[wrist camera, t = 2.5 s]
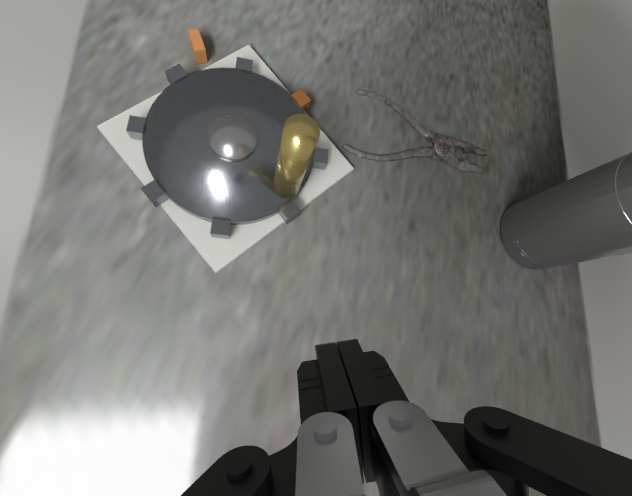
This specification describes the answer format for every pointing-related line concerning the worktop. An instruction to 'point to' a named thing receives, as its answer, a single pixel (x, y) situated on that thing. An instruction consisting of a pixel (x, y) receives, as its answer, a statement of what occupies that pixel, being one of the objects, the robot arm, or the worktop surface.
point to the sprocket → (228, 146)
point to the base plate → (198, 230)
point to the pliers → (441, 145)
